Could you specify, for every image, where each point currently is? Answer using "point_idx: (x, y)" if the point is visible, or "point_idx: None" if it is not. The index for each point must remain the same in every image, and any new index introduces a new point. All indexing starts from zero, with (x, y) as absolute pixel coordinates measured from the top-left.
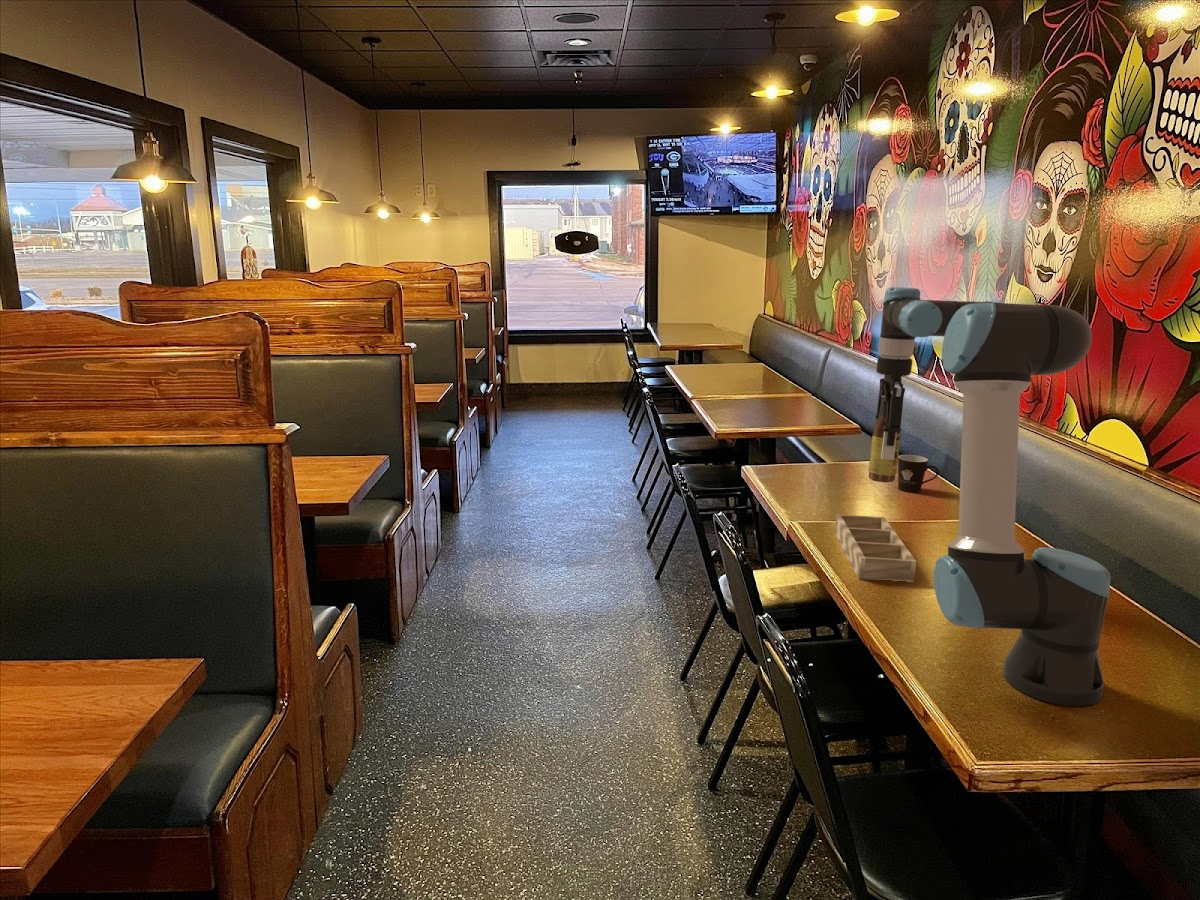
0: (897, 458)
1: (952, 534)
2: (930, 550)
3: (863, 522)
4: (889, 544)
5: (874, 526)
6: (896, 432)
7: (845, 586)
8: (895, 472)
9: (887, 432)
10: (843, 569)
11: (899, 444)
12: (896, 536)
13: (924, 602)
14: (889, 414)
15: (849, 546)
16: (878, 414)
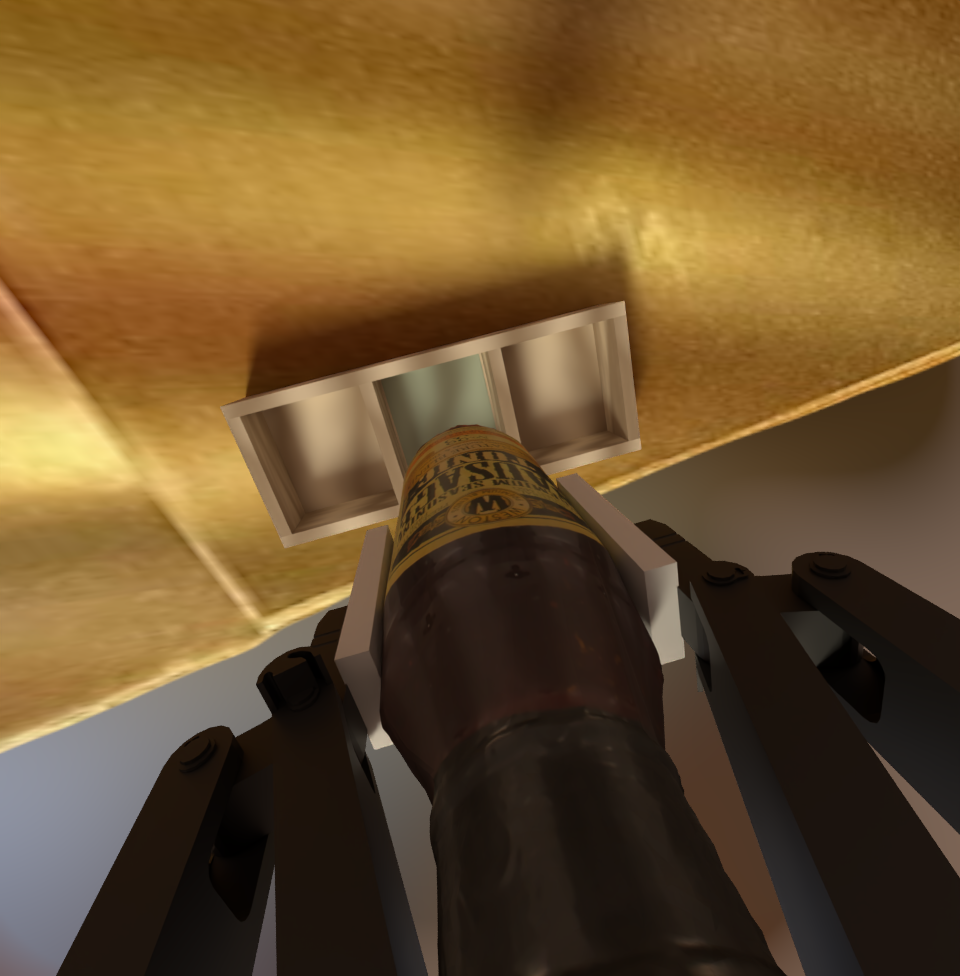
0: (509, 452)
1: (67, 140)
2: (310, 243)
3: (268, 464)
4: (505, 380)
5: (257, 427)
6: (672, 564)
7: (665, 459)
8: (502, 434)
9: (677, 632)
10: (566, 473)
11: (513, 479)
12: (418, 361)
13: (715, 281)
14: (952, 815)
15: None
16: (271, 861)
